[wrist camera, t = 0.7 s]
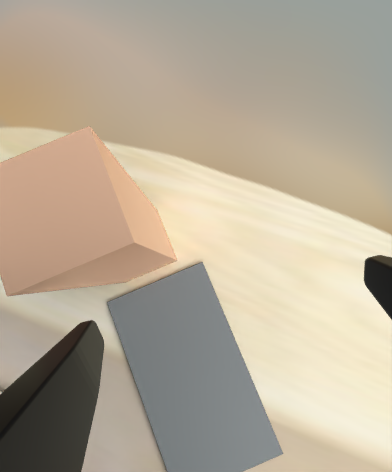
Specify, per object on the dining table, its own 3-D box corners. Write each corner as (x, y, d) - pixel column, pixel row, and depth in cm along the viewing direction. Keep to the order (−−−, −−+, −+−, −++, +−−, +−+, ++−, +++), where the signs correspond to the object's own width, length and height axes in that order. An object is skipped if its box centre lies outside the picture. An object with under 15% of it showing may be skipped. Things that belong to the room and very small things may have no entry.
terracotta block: (177, 260, 23) (134, 242, 10) (125, 282, 23) (6, 296, 10) (156, 209, 24) (89, 125, 10) (106, 231, 24) (-30, 175, 10)
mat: (282, 451, 21) (283, 453, 21) (178, 496, 21) (177, 499, 21) (202, 262, 23) (202, 261, 23) (108, 301, 23) (107, 302, 23)
